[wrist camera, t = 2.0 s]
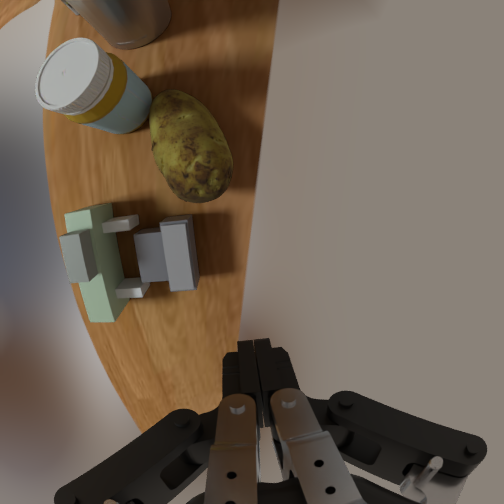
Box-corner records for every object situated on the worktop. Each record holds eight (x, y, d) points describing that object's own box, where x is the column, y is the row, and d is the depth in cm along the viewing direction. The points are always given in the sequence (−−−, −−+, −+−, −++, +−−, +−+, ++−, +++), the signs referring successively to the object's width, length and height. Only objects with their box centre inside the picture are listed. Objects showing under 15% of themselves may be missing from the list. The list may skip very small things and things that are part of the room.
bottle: (107, 83, 26) (44, 42, 12) (158, 81, 27) (114, 26, 13) (98, 135, 28) (23, 120, 14) (149, 135, 29) (92, 111, 15)
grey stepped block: (140, 220, 31) (128, 227, 27) (191, 214, 32) (186, 220, 28) (150, 281, 34) (141, 295, 29) (199, 277, 34) (196, 291, 30)
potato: (224, 88, 28) (223, 64, 21) (235, 193, 32) (238, 200, 24) (154, 99, 28) (134, 80, 20) (165, 203, 31) (147, 213, 24)
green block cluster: (88, 206, 30) (52, 218, 22) (136, 198, 31) (108, 208, 23) (107, 300, 34) (82, 332, 26) (152, 298, 35) (135, 332, 26)
